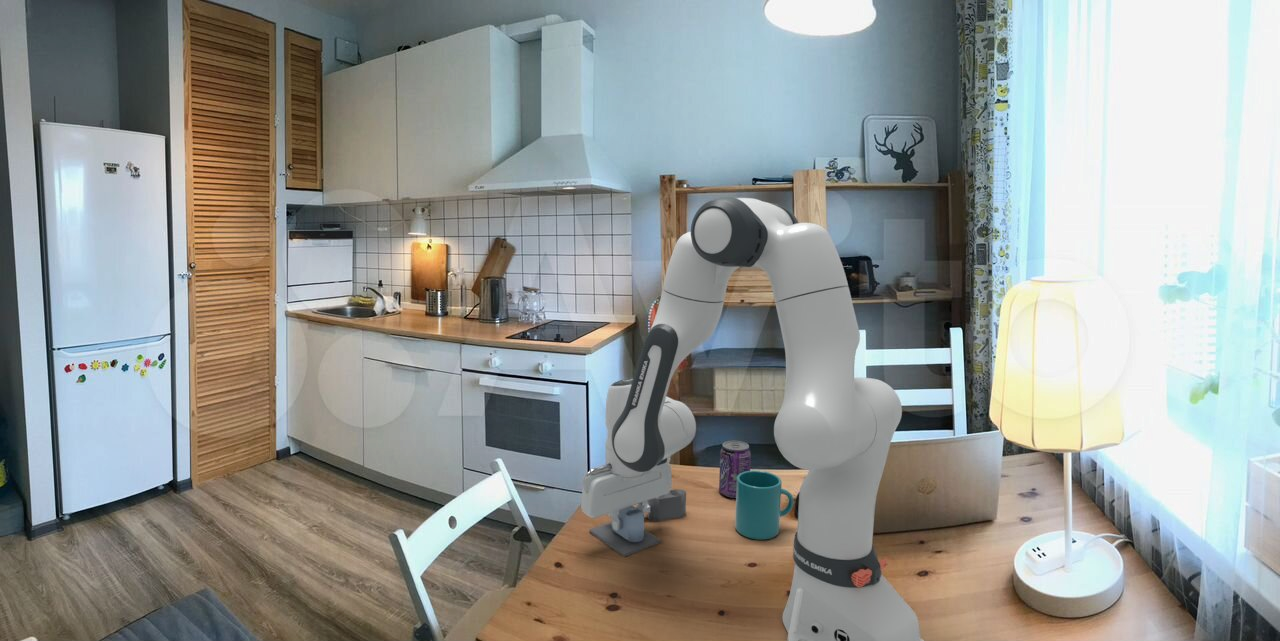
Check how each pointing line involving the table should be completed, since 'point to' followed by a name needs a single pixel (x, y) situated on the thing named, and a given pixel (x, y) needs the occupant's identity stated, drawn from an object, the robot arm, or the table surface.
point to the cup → (759, 504)
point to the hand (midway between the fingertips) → (627, 524)
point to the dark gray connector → (667, 506)
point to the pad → (623, 540)
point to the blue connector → (631, 524)
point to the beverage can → (733, 465)
